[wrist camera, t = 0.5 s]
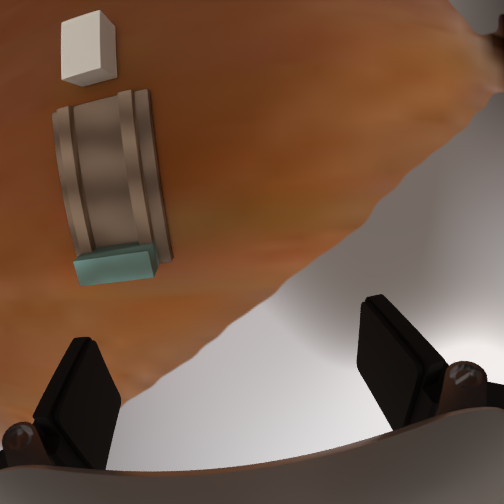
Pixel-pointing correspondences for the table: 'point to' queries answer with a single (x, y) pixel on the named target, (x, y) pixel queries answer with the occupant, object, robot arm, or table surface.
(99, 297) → the table surface
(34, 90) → the table surface
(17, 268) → the table surface
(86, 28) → the cream block
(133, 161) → the channel board
